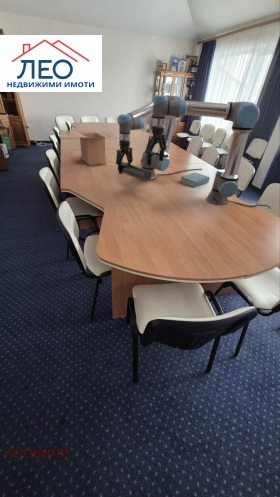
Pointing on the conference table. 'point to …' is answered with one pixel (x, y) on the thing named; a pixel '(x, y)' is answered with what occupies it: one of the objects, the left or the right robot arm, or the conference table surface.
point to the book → (194, 179)
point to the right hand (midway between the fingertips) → (155, 162)
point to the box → (92, 146)
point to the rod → (136, 172)
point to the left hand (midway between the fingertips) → (124, 172)
